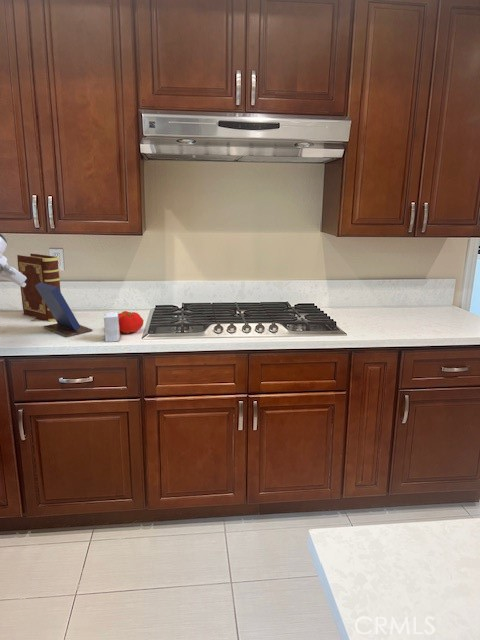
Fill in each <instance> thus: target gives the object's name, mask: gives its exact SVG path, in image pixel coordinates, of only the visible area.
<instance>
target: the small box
mask: <svg viewBox="0 0 480 640" xmlns="http://www.w3.org/2000/svg"><path fill="white" fill-rule="evenodd" d="M119 313H120V312H105V313H104V316H103V325H104V327H103V328H104V338H105V339H104V341H105V342H106V343H109V342H120V338H121V334H120V333H121V331H119Z"/></svg>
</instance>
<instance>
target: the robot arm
mask: <svg viewBox="0 0 480 640" xmlns="http://www.w3.org/2000/svg"><path fill="white" fill-rule="evenodd" d="M7 248H8V241H7V239H6V238H5V236H4V235H3V234H2V233H0V279H2V280H5V281H8V282H12V283H15V284H16V285H18V286H19V287H20V286H21V287H25V286H26V283H25V280H26V279H27V278H26V276H24V275H23V274H22V273H20V272H19V270H18V269H16V268H15V267H13V266H11V265H9V262H8V258H7V257H6V256H5V255H4V253H5V252H6V249H7ZM21 287H20V288H21Z"/></svg>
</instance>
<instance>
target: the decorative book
mask: <svg viewBox="0 0 480 640" xmlns="http://www.w3.org/2000/svg"><path fill="white" fill-rule="evenodd" d="M16 256H17V268H18V269H17V270H18V271H19V272H20V273H22V274H23V275H24V276H26V278H27V279H26V280H25V283H26V286H25V287H21V286H19V287H20V295H21V302H22V311H23V315H24V316H28V317H32V318H35V319H36V320H41V321H46V322H51V323H52V322H56V320H55V318H54V317H53V315H52V313H51V312H50V310H49V309H48V307H47V305H46V304H45V302H44V300H43V299H42V297H41V295H40V294H39V292H38V291H37V289H36V287H35V285H37V284H38V283H40V282H42V283H45V284H49V285H52V286H56V287H58V289H59V290H60V292H61V293H62V291H61V282H60V281H61V277H60V270H61V269H60V268H59V261H60V258H59V256H54V255H47V254H39V253H30V256H29V255H28V256H27V255H20V254H17V255H16Z"/></svg>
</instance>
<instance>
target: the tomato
mask: <svg viewBox="0 0 480 640" xmlns="http://www.w3.org/2000/svg"><path fill="white" fill-rule="evenodd" d="M118 313H119V332H120V333H123V334H129V333H137V332H138V331H139V330H141V329H142V327H144V319H143V317H141V314H139V312H134V311H127V310H123V311H121V312H118Z"/></svg>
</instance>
